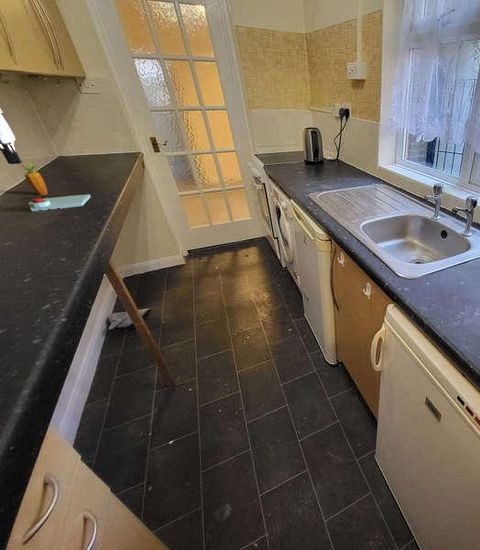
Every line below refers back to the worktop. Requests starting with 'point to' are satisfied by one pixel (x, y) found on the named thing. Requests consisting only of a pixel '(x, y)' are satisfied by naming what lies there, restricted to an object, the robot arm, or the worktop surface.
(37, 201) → the tare button
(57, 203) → the scale
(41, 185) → the carrot
